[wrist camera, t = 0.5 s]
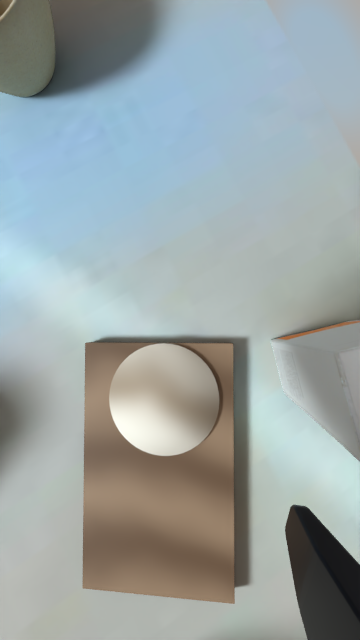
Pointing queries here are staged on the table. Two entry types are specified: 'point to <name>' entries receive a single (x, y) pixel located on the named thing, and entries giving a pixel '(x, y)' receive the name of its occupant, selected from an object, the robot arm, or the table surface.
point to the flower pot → (26, 46)
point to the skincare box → (325, 378)
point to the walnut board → (159, 469)
